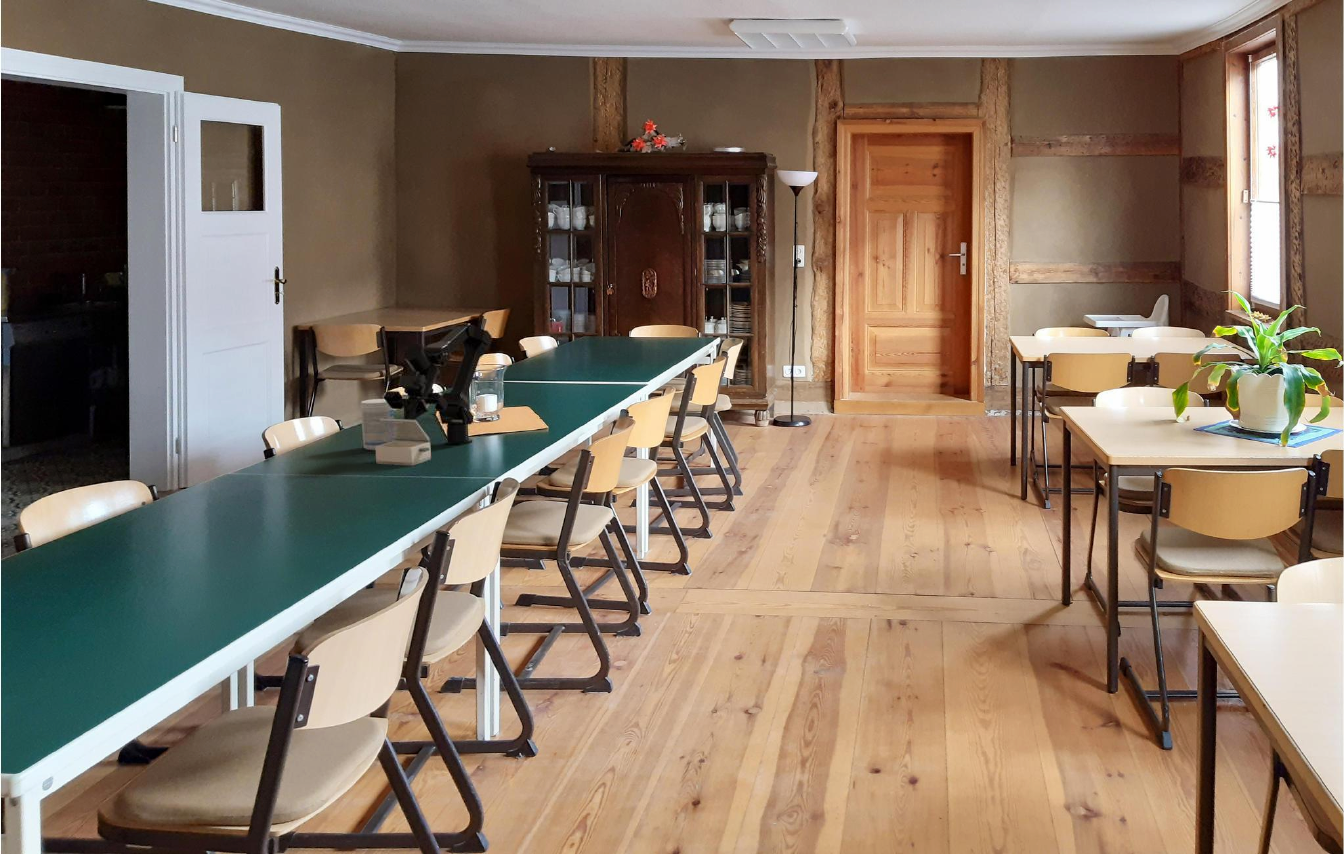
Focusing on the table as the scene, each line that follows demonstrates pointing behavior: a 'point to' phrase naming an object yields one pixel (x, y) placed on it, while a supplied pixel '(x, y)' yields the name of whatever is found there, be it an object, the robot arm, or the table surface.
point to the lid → (405, 429)
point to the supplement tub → (375, 423)
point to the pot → (403, 453)
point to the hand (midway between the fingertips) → (405, 424)
